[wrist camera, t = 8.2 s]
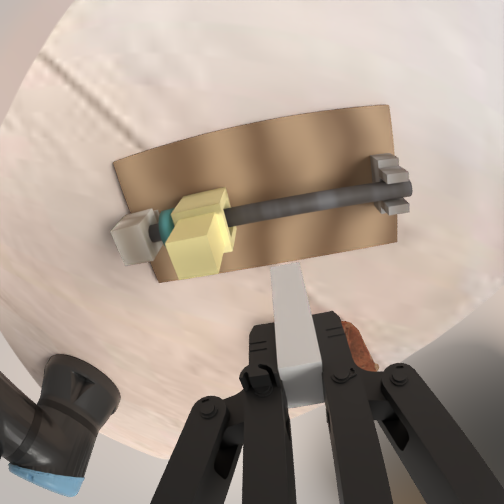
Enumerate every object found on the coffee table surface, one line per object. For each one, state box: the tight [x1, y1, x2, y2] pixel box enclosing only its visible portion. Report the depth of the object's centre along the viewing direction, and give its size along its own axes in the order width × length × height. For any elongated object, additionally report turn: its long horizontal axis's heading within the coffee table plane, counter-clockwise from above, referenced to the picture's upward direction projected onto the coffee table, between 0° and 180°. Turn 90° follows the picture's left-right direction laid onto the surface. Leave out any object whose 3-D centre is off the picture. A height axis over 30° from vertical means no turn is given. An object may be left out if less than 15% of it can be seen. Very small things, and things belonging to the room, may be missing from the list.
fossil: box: [341, 321, 379, 371], centre depth 34 cm, size 13×8×10 cm
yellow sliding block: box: [165, 187, 237, 280], centre depth 24 cm, size 4×4×8 cm
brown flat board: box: [110, 105, 412, 283], centre depth 26 cm, size 26×14×5 cm, turn 102°
